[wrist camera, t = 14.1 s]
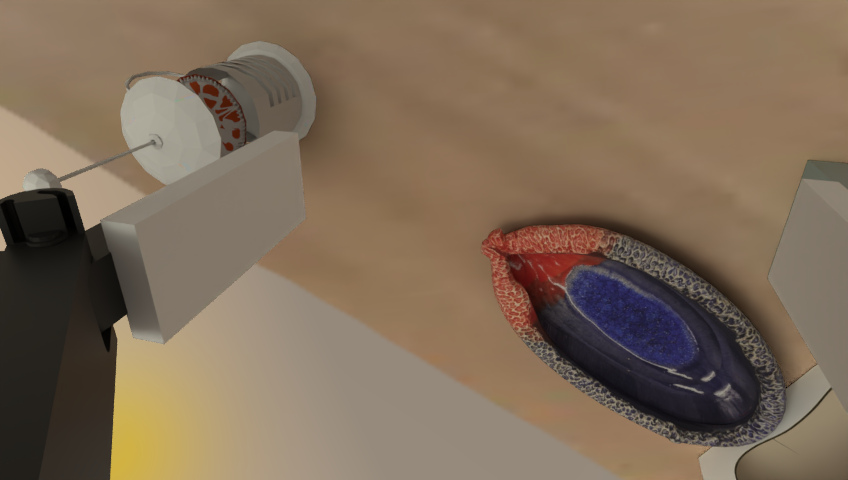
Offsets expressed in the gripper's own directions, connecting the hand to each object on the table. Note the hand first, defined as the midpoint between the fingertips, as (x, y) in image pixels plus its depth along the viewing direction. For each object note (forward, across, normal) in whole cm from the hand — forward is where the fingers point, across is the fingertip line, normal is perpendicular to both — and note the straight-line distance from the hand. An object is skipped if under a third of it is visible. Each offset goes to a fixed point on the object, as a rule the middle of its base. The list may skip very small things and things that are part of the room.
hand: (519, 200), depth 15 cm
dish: (+32, +9, -23) cm, 41 cm away
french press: (+32, -27, -5) cm, 42 cm away
